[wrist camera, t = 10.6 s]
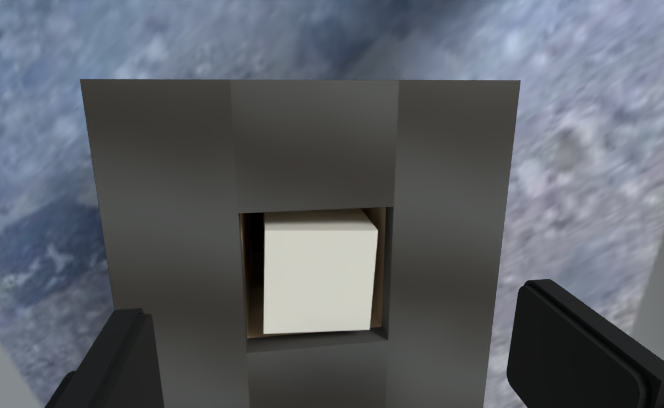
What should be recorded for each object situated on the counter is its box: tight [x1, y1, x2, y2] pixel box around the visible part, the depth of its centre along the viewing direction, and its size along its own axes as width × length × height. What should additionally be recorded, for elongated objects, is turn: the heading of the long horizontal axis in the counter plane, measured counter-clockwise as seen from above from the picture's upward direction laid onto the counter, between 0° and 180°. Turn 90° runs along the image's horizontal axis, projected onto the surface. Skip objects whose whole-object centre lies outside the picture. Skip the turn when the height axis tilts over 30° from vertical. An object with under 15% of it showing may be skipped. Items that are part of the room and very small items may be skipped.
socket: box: [80, 79, 521, 408], centre depth 20 cm, size 14×14×10 cm
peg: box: [263, 208, 378, 334], centre depth 20 cm, size 4×4×10 cm
